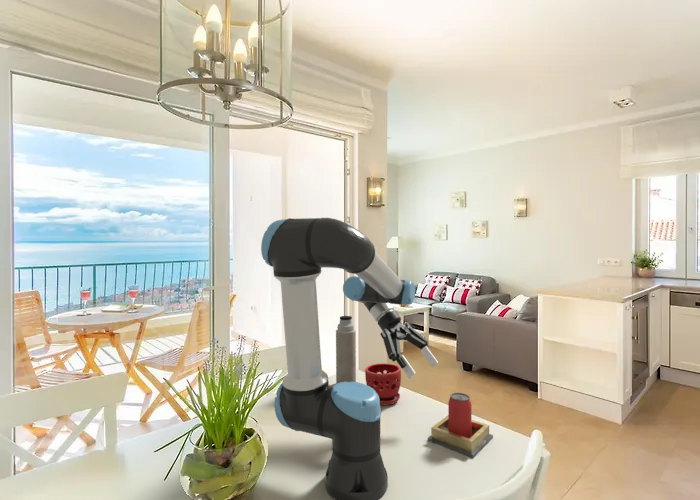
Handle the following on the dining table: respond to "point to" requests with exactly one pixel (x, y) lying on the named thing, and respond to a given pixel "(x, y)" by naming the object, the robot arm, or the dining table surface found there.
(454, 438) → the frame
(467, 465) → the dining table surface
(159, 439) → the dining table surface
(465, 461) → the dining table surface
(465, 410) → the beer can
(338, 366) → the thermos bottle
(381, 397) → the plant pot
